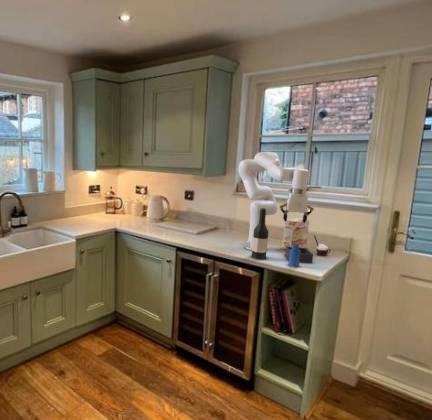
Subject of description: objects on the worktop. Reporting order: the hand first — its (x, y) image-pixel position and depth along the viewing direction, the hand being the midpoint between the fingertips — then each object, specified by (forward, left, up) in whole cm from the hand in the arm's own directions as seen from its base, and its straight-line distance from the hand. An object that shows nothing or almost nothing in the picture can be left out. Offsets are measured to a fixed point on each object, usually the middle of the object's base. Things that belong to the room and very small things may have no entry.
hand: (294, 221), depth 202 cm
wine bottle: (-16, +6, -25) cm, 30 cm away
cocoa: (+23, +24, -25) cm, 41 cm away
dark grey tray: (+7, +11, -24) cm, 28 cm away
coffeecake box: (+10, +34, -25) cm, 43 cm away
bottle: (+1, -4, -24) cm, 25 cm away
